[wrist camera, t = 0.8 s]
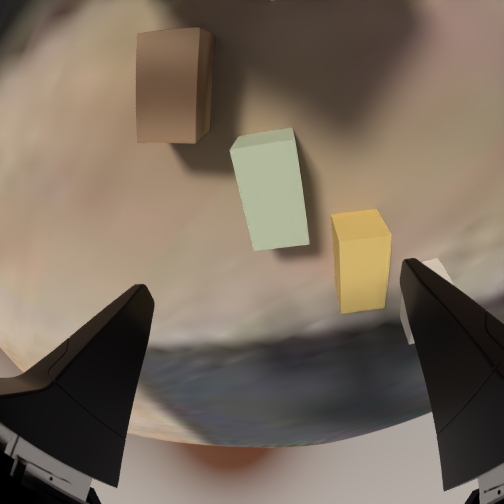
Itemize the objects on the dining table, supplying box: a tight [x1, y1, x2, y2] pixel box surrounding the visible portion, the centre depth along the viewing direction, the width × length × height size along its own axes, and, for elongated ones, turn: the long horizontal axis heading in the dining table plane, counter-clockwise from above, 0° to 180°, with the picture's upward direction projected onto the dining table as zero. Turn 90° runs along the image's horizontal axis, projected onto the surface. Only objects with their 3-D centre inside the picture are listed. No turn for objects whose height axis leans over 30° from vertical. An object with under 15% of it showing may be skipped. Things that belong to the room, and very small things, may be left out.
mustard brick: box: [331, 209, 392, 314], centre depth 19 cm, size 6×3×4 cm, turn 12°
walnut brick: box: [136, 27, 215, 144], centre depth 13 cm, size 6×3×4 cm, turn 176°
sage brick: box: [230, 128, 309, 251], centre depth 16 cm, size 6×3×4 cm, turn 11°
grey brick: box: [400, 258, 454, 345], centre depth 20 cm, size 6×3×4 cm, turn 16°
